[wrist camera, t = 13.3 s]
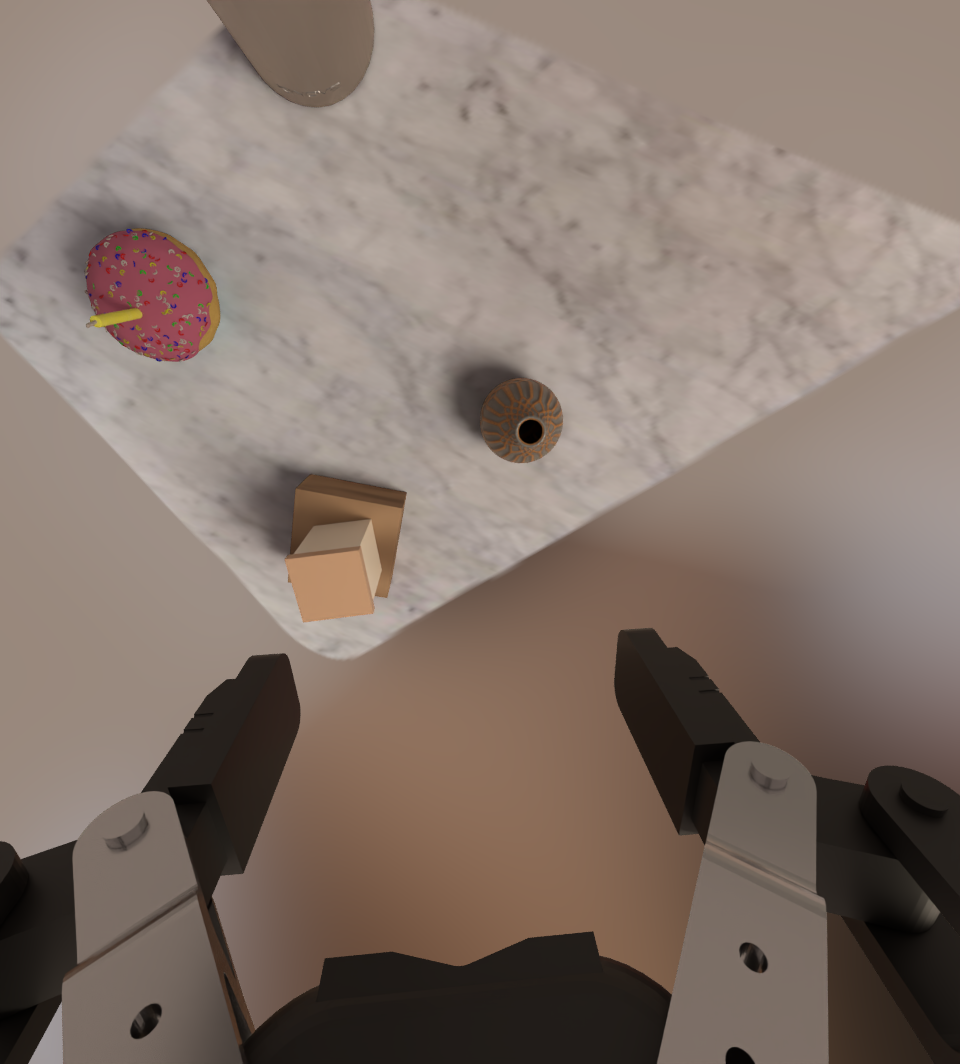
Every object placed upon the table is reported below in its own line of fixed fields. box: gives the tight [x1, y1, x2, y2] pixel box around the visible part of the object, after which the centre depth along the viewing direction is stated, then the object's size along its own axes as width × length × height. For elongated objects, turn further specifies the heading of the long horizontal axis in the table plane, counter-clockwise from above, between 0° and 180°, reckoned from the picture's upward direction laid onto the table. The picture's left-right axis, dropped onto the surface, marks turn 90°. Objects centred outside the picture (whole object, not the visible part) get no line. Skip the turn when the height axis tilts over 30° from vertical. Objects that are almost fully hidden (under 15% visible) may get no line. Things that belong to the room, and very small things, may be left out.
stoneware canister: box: [285, 519, 382, 622], centre depth 38 cm, size 5×5×7 cm
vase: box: [480, 378, 563, 463], centre depth 39 cm, size 7×7×9 cm
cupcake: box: [84, 228, 220, 362], centre depth 32 cm, size 9×8×12 cm
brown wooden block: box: [288, 474, 407, 598], centre depth 44 cm, size 9×9×5 cm
